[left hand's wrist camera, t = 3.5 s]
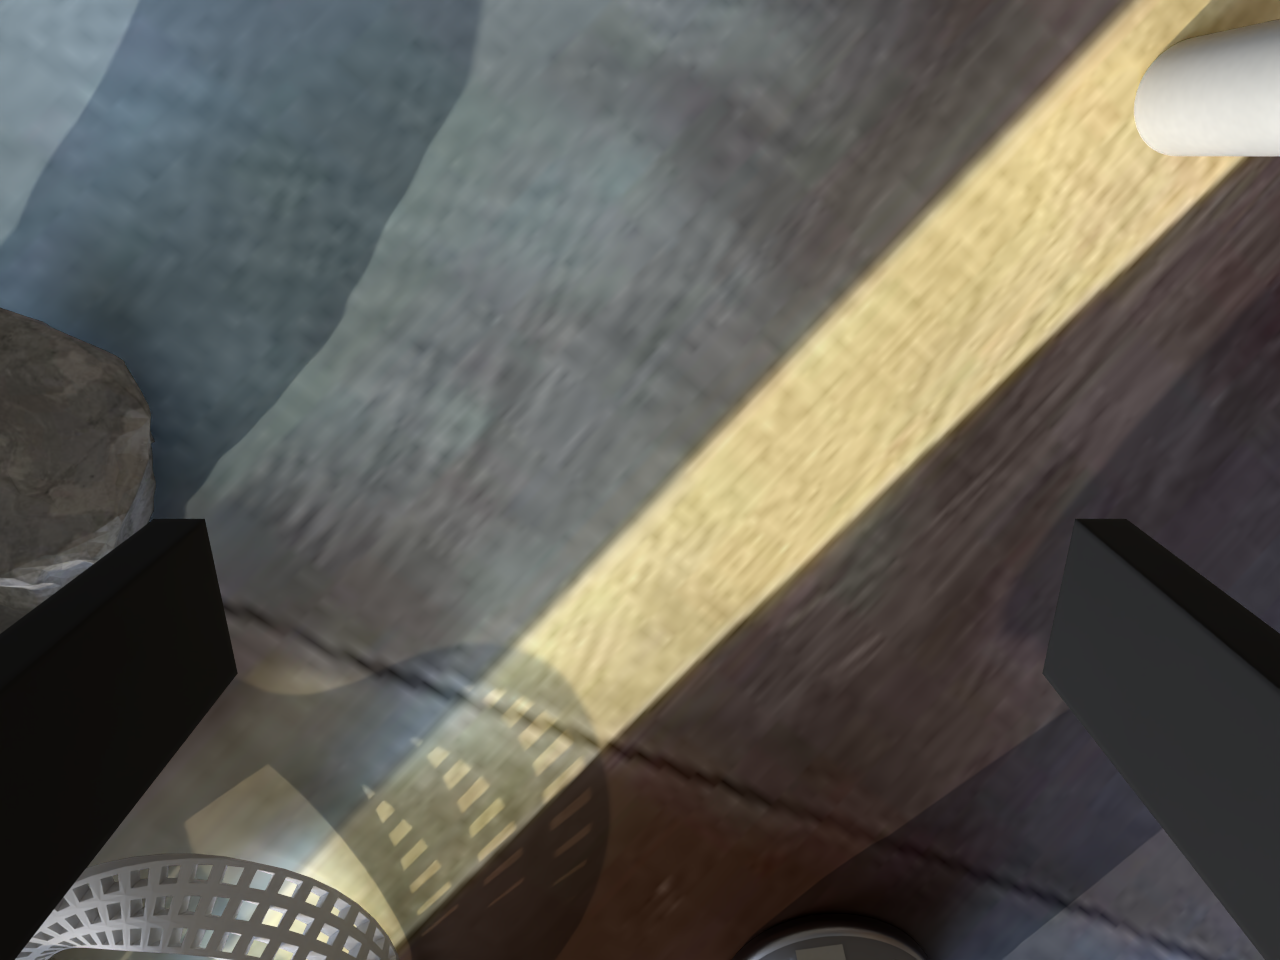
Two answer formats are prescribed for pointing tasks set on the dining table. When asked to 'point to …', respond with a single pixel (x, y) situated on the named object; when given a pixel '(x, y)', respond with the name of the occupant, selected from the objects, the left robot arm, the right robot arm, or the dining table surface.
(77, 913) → the decorative object
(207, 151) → the dining table surface
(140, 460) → the decorative stone
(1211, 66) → the bottle
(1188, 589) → the left robot arm
